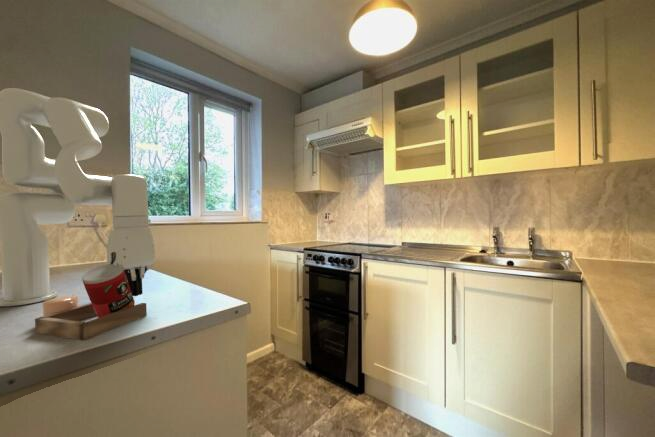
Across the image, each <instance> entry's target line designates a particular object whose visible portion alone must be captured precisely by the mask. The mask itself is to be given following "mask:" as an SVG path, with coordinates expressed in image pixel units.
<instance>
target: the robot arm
mask: <svg viewBox="0 0 655 437" xmlns="http://www.w3.org/2000/svg"><path fill="white" fill-rule="evenodd" d="M109 123H110V122H109V119H108V117H107V116H106V114H105V113H104V112H103V111H101V110H100V109H99V108H96V107H93V106H91V105H87V104H85V103H82V102H79V101H75V100H74V99H73V100H72V99H69V98H66V97H57V96H56V97H49V96H46V95H44V94H40V93H37V92H35V91H31V90H26V89H23V88H16V87H10V88H9V87H8V88H3V89H1V90H0V136H1V169H2V170H1V172H2V173H1V174H2V177H3V180H4V181H5V183H7V185H10V186H13V187H17V188H25V189H38V190H39V189H41V190H48V193H43V192H42V193H41V192H30V191H29V192H27V191H26V192H25V191H24V192H23V191H13V192H7V193H4V194H1V195H0V255H1V256H0V258H1V283H2V288H0V292H1V293H2V297H0V307H16V306H23V305H29V304H34V303H40V302H44V301H46V300H49V299H53V298H56V297H57V296H58V292H57V291H56V290H51V287H50V286H51V284H50V255H49V254H50V253H49V252H50V251H49V238H48V236H47V234H46V232H44V230H43V229H42V228H40V226H39V225H56V224H57V225H59V224H60V225H61V224H68V223H69V222H71V221H72V220H73V219H74V217H75V216H76V209H77V207H76V206H77V205H82V206H105V207H107V206H111V209H112V210H111V211H112V225H113V226H112V227H113V229H112V230H109V234H108V238H107V246H106V247H107V248H106V265H107V264H109V265H111V264H113V265H118V264H119V266H120V265H122V267H123V268H124V271H125V274H126V277H127V280H128V283H129V286H130V289H131V292H132V295H133V297H137V296H140V295H143V294H144V293H143V279H144V278H145V274H146V273H147V271H149V270H151V269H152V268H154V264H153V263H155V258H156V254H155V253H156V252H155V244H154V238H153V233H152V230H151V228H150V227H149V226H150V223H151V219H150V218H149V204H148V200H149V198H148V184H147V179H146V178H145V177H144V176H141V175H139V174H138V175H137V174H116V175H114V176H112V177H110V176H104V175H94V174H88V173H87V174H86V173H84V171H83V169H82V167H81V166H80V164H79V162H80V161H83V160H84V161H85V160H88V159H89V160H90V159H92V158H93V157H96V156H97V155H99V153H100V152H101V151H102V149H103V144H102V141H101V140H100V138H102V137H104V136H105V135H107V134H108V132H109V129H110V124H109ZM33 124H34V125H37V126H38V125H39V126H42V127H46V128H51V130H52V132H53V134H54V136H55V139H56V140H57V142H58V144H59V145H60V147H61V150H60V151H59V152H58V154H57V155H56V158H47V157H46V153H45V151H46V150H45V148H46V147H45V145H46V144H45V141H44V138H43V137H42V136H41V134H40V133H39V131H38V130H37V129H36V128H35V126H33Z"/></svg>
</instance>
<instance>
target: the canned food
mask: <svg viewBox="0 0 655 437" xmlns="http://www.w3.org/2000/svg"><path fill="white" fill-rule="evenodd" d="M81 279H82V280H81V281H82V284H83V286H84V288H85V291H86V293H87V295H88V298H89V300H90V303H92V306H93V308H94V311H95V313H96V315H95V316H96V317H97V318H99V317H102V316H105V315H108V314H111V313H114V312H117V311H120V310H123V309H126V308H129V307H132V306H135V305H136V304H135V298H134V296H133V295H132V292H131V289H130V286H129V283H128V280H127V277H126V274H125V271H124V268H123V267H122V265H120V266H119V264H118V265H113V264H111V265H109V264H107V263H106V264H103V265H100V266H96V267H94V268H91V269H89V270H88V271H86V272H85V273H84V274H82V276H81Z"/></svg>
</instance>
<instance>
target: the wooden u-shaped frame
mask: <svg viewBox="0 0 655 437" xmlns="http://www.w3.org/2000/svg"><path fill="white" fill-rule="evenodd" d="M147 315H148V314H147V303H146V302H141V303H138V304H134V306H132V307H129V308H126V309H123V310H120V311H117V312H114V313H111V314H108V315H105V316H102V317H99V318H98V317H97V318H94V319H91V320H89V321H81V320H85V319H87V318H90V317H91V318H92V317H94V316H97V315H96V313H95V311H94V308H93V306H92V303H91V302H89V303H88V302H87V303H85V304H82V305H78V307H74V308H71V309H67V310H64V311H60V312H57V313H53V314H50V315H46V316H40V317H36V318H34V323H35V324H34V326H35V330H34V331H35V334H41V335H45V336H46V335H48V336H54V337H61V338H68V339H74V340H79V341H80V340H81V341H85V340H88V339H90V338H93V337H96V336H98V335H101V334H103V333H105V332H108V331H110V330H113V329H115V328H116V329H117V328H119V327H121V326H123V325H125V324H128V323H131V322H133V321H136V320H139V319H141V318H144V317H146V316H147Z"/></svg>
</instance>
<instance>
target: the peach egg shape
mask: <svg viewBox="0 0 655 437" xmlns="http://www.w3.org/2000/svg"><path fill="white" fill-rule="evenodd" d="M78 306H79V297H78V295H65V296H59V297H53V298H51V299H48V300H44V301H42V314H43V316H46V315H50V314H53V313H57V312H60V311H64V310H67V309H71V308H74V307H78ZM43 316H42V317H43Z"/></svg>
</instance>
